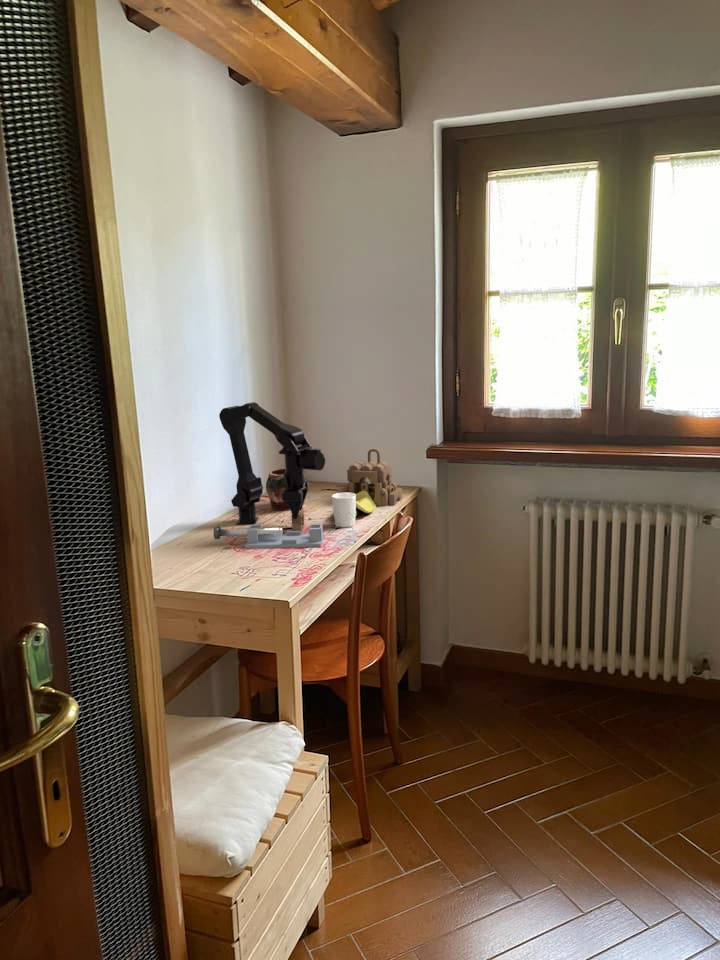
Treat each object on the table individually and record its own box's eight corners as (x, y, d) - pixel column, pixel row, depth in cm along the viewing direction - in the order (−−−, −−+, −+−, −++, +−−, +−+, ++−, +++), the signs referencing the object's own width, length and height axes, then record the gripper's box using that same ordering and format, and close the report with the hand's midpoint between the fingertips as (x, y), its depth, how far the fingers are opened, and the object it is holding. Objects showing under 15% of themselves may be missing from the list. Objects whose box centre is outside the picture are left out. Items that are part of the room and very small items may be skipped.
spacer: (295, 526, 242) (294, 509, 241) (304, 526, 242) (303, 509, 241) (292, 532, 236) (291, 515, 234) (301, 532, 236) (300, 515, 234)
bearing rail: (252, 538, 231) (250, 523, 230) (324, 536, 229) (323, 521, 228) (245, 548, 221) (243, 532, 220) (320, 546, 220) (319, 530, 219)
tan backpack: (335, 504, 268) (332, 454, 264) (349, 494, 281) (347, 447, 277) (392, 507, 260) (390, 456, 256) (404, 497, 274) (403, 448, 269)
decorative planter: (292, 516, 254) (289, 477, 251) (258, 515, 257) (256, 477, 253) (308, 501, 273) (306, 465, 270) (277, 501, 276) (274, 465, 272)
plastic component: (343, 499, 265) (367, 488, 262) (352, 518, 265) (377, 506, 262) (330, 510, 245) (356, 498, 243) (340, 530, 246) (366, 517, 243)
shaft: (217, 537, 229) (216, 524, 228) (284, 535, 227) (283, 523, 226) (214, 540, 225) (213, 528, 224) (282, 539, 223) (281, 526, 222)
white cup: (336, 529, 237) (335, 499, 235) (330, 522, 244) (329, 493, 242) (359, 526, 239) (358, 496, 237) (353, 520, 246) (352, 491, 244)
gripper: (274, 462, 244) (277, 507, 247) (264, 475, 226) (267, 523, 229) (307, 461, 243) (310, 507, 247) (299, 474, 225) (302, 522, 229)
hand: (297, 514), depth 238 cm, fingers open, 9 cm apart
